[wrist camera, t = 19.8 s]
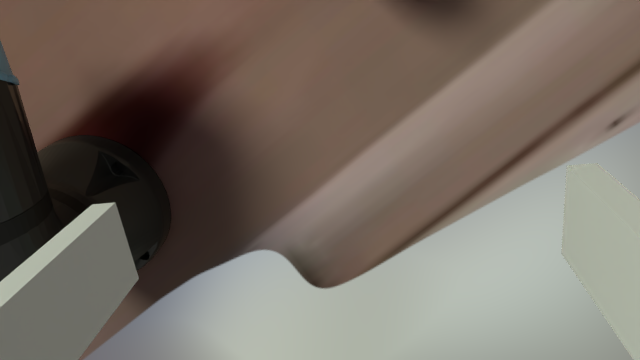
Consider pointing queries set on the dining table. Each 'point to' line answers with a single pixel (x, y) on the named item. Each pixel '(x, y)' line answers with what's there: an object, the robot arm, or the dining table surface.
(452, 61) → the dining table surface
